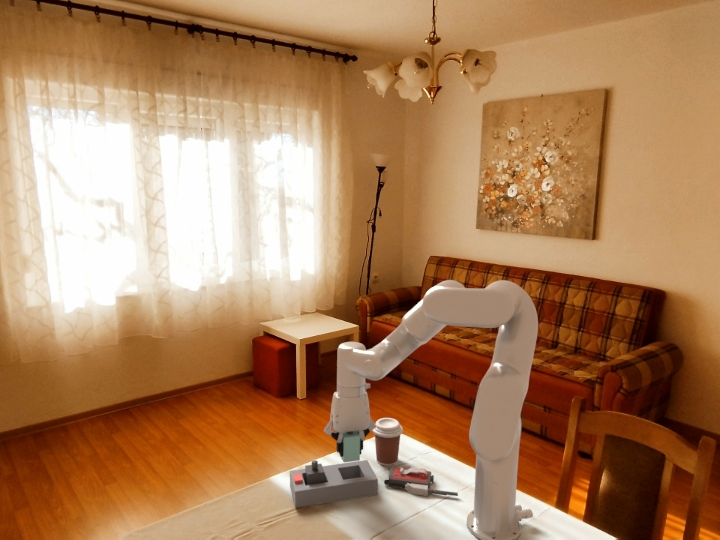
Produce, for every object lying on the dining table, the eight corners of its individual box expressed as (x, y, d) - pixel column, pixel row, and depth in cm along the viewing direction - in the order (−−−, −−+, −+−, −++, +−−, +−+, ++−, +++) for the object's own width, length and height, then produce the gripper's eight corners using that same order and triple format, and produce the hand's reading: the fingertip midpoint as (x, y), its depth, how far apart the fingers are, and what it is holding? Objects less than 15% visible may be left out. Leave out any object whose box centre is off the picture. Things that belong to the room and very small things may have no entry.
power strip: (367, 474, 146) (367, 445, 144) (377, 494, 136) (377, 463, 135) (290, 486, 140) (289, 455, 138) (295, 507, 130) (294, 475, 129)
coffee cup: (369, 453, 157) (369, 417, 155) (398, 451, 159) (398, 415, 157) (375, 469, 148) (375, 431, 146) (405, 467, 150) (406, 428, 148)
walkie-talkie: (382, 491, 138) (457, 501, 134) (382, 476, 137) (458, 486, 133) (387, 474, 146) (458, 483, 142) (387, 460, 146) (459, 468, 142)
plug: (355, 452, 141) (356, 421, 139) (359, 460, 137) (360, 428, 135) (339, 454, 140) (340, 423, 138) (343, 462, 135) (344, 430, 134)
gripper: (377, 381, 141) (375, 442, 144) (316, 386, 136) (316, 449, 139) (385, 391, 134) (383, 456, 137) (322, 397, 129) (321, 464, 132)
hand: (349, 452), depth 138 cm, fingers closed on plug, 4 cm apart
